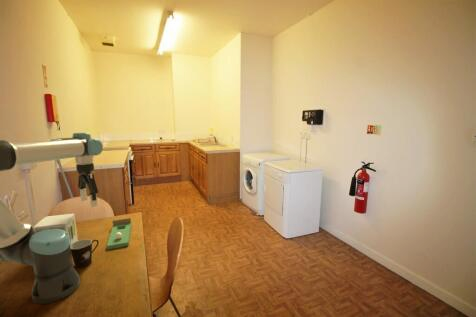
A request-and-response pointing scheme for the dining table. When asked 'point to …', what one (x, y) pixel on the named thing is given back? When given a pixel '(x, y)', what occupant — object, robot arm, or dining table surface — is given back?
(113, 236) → the green
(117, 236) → the ball
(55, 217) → the supplement box
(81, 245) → the coffee mug
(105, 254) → the dining table surface
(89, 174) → the robot arm
